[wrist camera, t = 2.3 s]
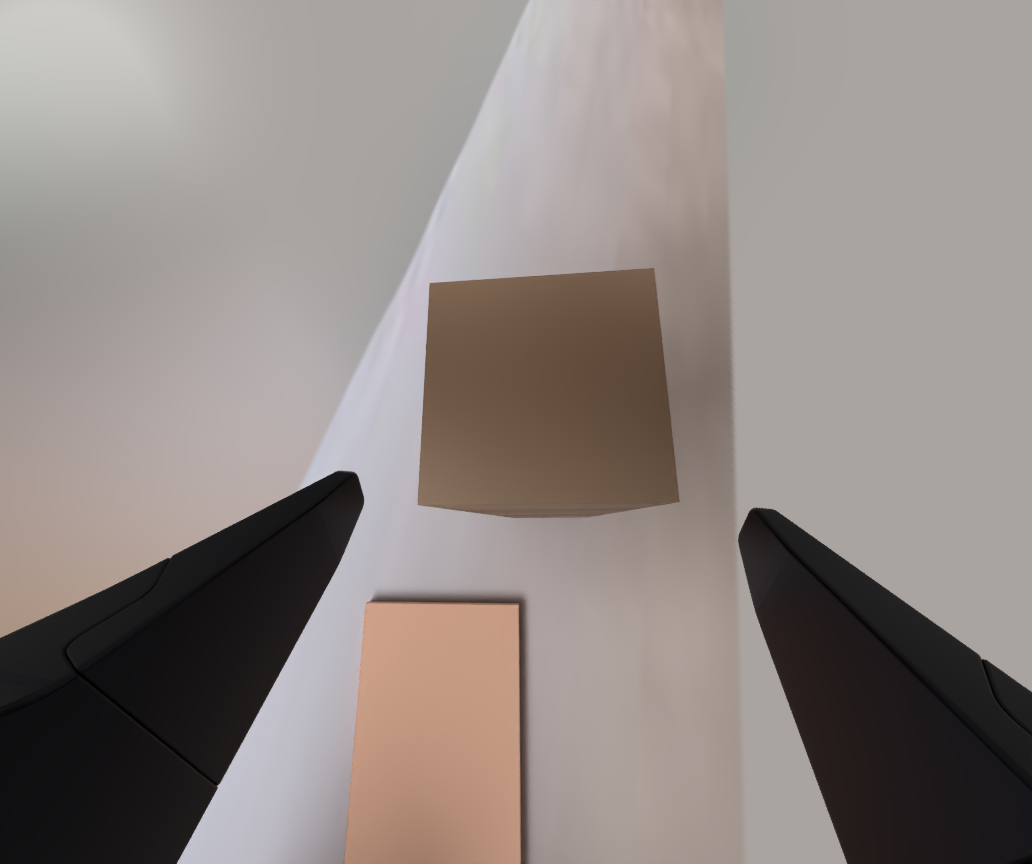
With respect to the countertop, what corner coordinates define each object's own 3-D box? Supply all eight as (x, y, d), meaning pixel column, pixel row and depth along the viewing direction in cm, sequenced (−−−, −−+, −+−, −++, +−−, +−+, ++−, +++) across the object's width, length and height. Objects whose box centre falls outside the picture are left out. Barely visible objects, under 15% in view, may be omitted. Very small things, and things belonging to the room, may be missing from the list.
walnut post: (587, 517, 17) (679, 502, 5) (513, 517, 18) (417, 504, 5) (584, 443, 18) (653, 268, 6) (512, 445, 19) (429, 283, 6)
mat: (521, 949, 14) (521, 962, 14) (343, 933, 15) (337, 944, 14) (519, 603, 17) (518, 605, 16) (369, 601, 17) (365, 603, 17)
